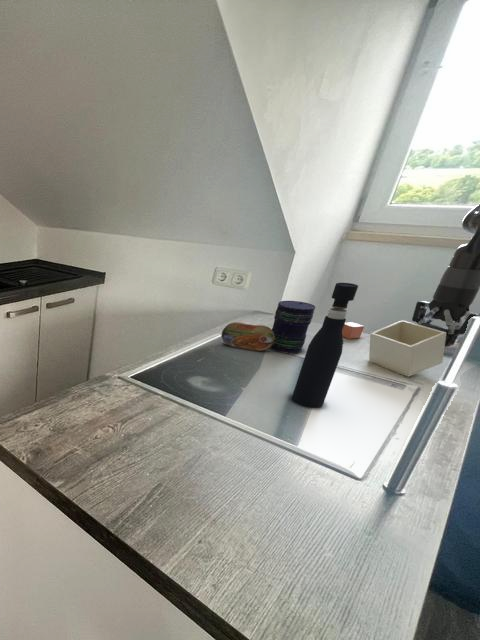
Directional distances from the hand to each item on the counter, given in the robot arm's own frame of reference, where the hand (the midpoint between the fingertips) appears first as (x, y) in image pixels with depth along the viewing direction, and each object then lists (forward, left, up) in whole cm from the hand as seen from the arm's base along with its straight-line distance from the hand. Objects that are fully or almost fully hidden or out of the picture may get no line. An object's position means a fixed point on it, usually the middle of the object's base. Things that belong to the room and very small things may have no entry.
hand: (432, 341), depth 112 cm
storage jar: (+27, -20, -8) cm, 35 cm away
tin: (+39, -23, -8) cm, 46 cm away
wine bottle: (+49, +12, -8) cm, 51 cm away
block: (-3, -25, -8) cm, 26 cm away
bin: (+5, 0, -5) cm, 7 cm away
